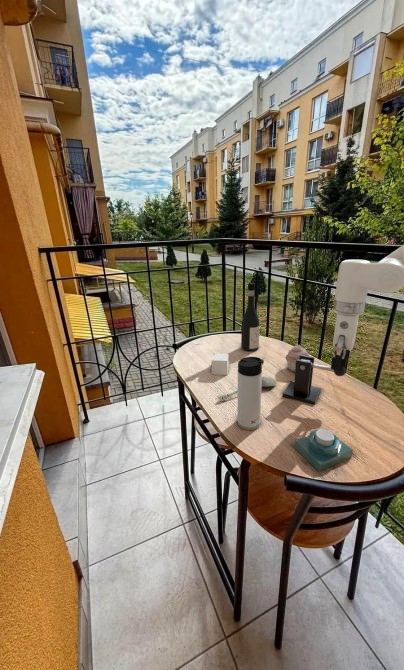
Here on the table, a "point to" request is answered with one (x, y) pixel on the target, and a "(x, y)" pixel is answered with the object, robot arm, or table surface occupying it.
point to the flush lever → (326, 368)
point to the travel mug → (249, 392)
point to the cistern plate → (322, 451)
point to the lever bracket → (303, 383)
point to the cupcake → (294, 356)
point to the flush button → (324, 437)
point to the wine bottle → (250, 324)
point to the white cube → (220, 364)
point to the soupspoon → (265, 382)
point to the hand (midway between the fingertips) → (339, 363)
